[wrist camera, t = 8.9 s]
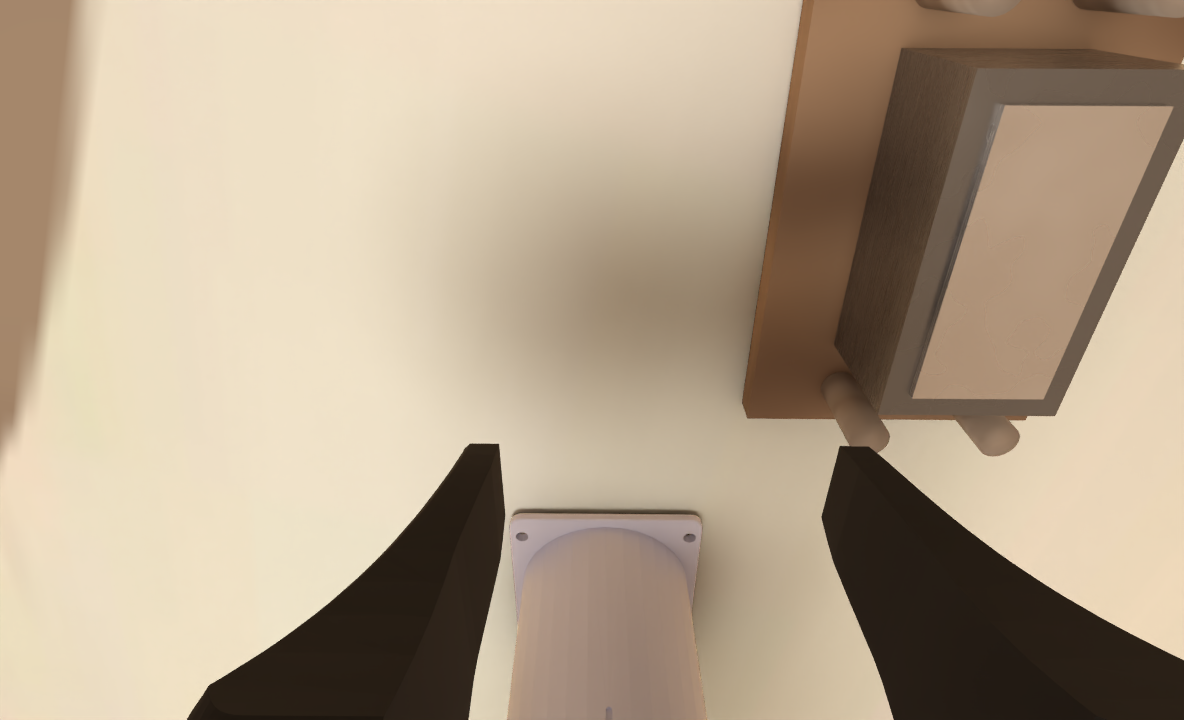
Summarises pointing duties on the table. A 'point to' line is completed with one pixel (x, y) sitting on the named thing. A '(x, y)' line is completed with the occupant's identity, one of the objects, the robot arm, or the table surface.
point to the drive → (1001, 222)
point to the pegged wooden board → (845, 166)
